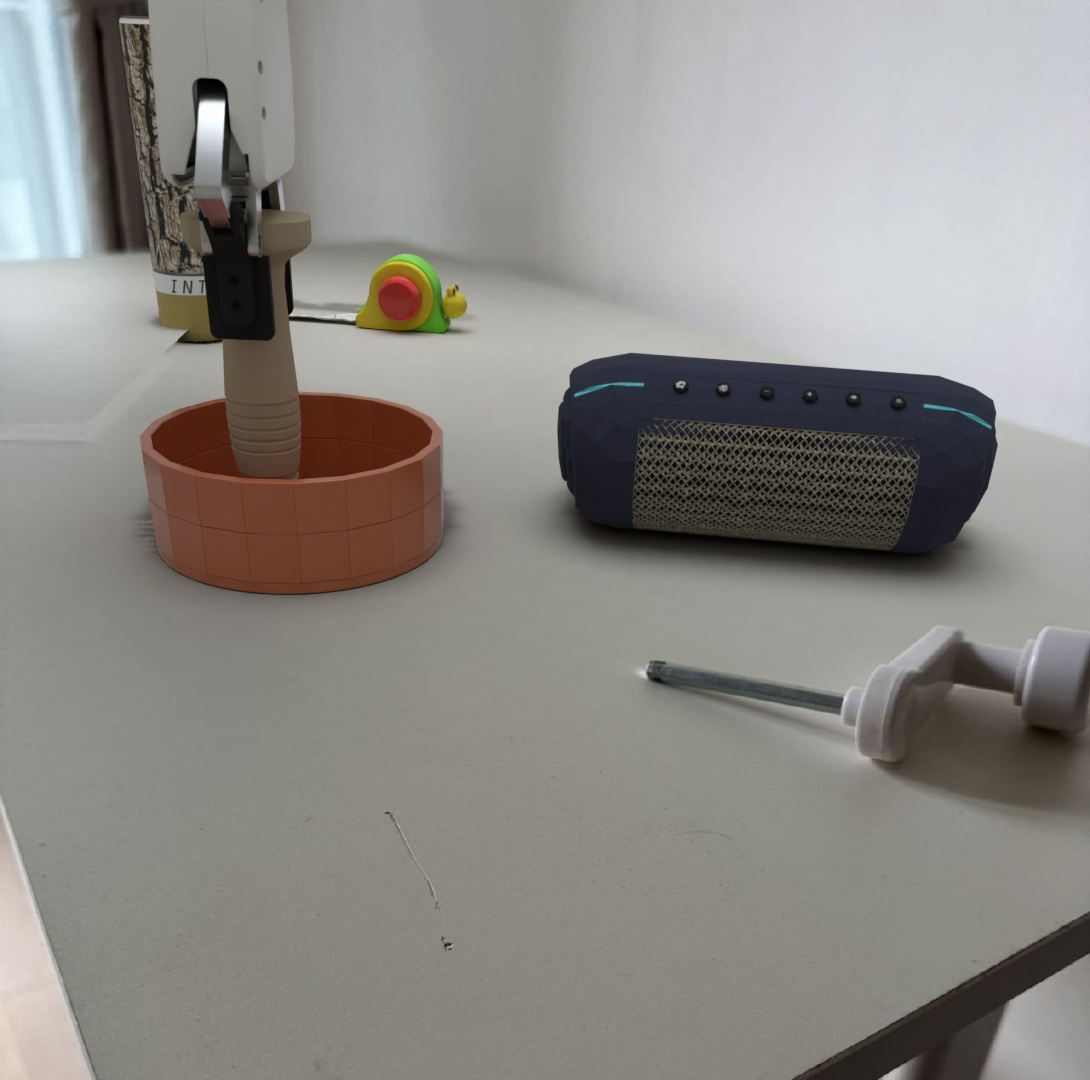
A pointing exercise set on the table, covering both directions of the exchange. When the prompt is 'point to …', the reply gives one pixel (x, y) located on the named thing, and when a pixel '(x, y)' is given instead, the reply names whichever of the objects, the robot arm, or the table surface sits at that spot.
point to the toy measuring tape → (405, 299)
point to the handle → (264, 362)
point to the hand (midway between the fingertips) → (254, 321)
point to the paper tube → (163, 198)
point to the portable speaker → (775, 451)
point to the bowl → (298, 497)
